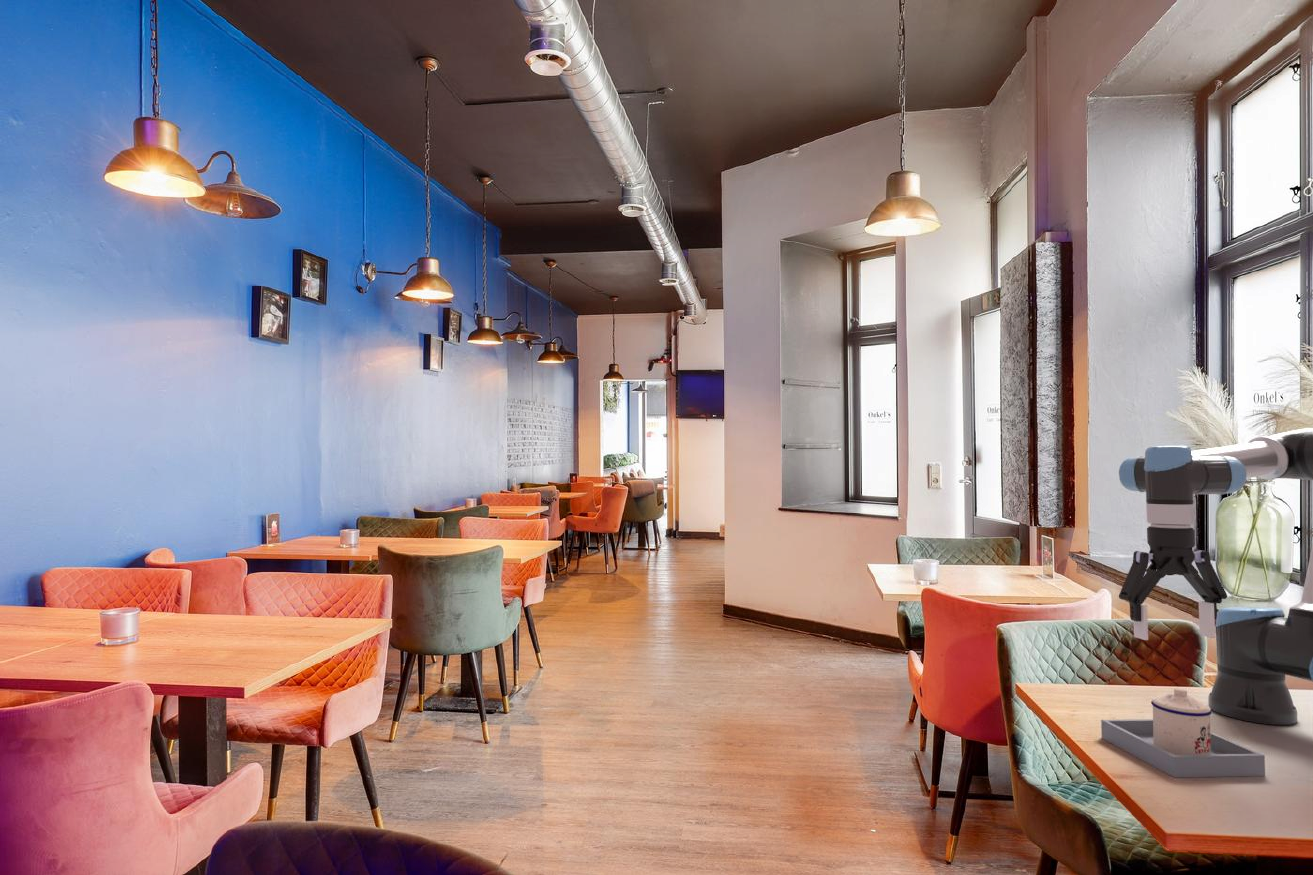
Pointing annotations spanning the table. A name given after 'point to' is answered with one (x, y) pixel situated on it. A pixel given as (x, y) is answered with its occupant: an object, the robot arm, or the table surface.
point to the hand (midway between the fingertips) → (1174, 637)
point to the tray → (1219, 763)
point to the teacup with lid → (1181, 724)
